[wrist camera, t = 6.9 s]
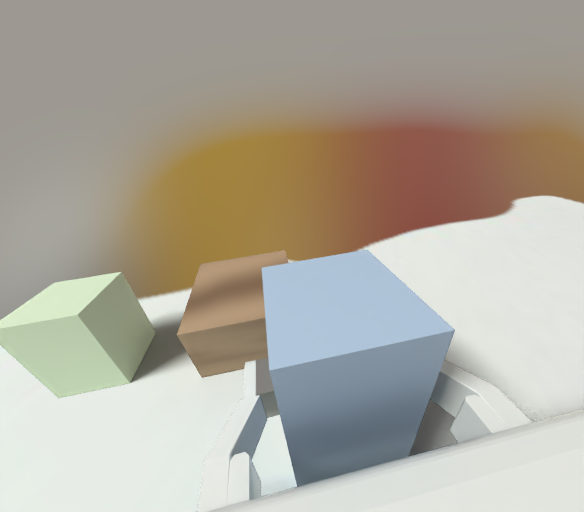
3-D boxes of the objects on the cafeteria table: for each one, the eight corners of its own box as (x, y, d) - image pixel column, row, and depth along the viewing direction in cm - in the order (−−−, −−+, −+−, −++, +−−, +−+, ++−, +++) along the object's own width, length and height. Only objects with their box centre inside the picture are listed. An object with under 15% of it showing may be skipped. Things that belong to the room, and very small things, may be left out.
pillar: (286, 394, 14) (261, 267, 10) (357, 377, 15) (367, 249, 10) (301, 503, 10) (269, 370, 5) (401, 475, 10) (454, 329, 6)
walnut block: (215, 302, 23) (200, 264, 20) (289, 289, 24) (284, 250, 21) (201, 377, 16) (176, 334, 13) (305, 355, 17) (301, 310, 14)
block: (100, 343, 20) (54, 282, 17) (156, 332, 21) (121, 271, 17) (58, 398, 16) (-16, 331, 12) (130, 383, 16) (77, 314, 13)
